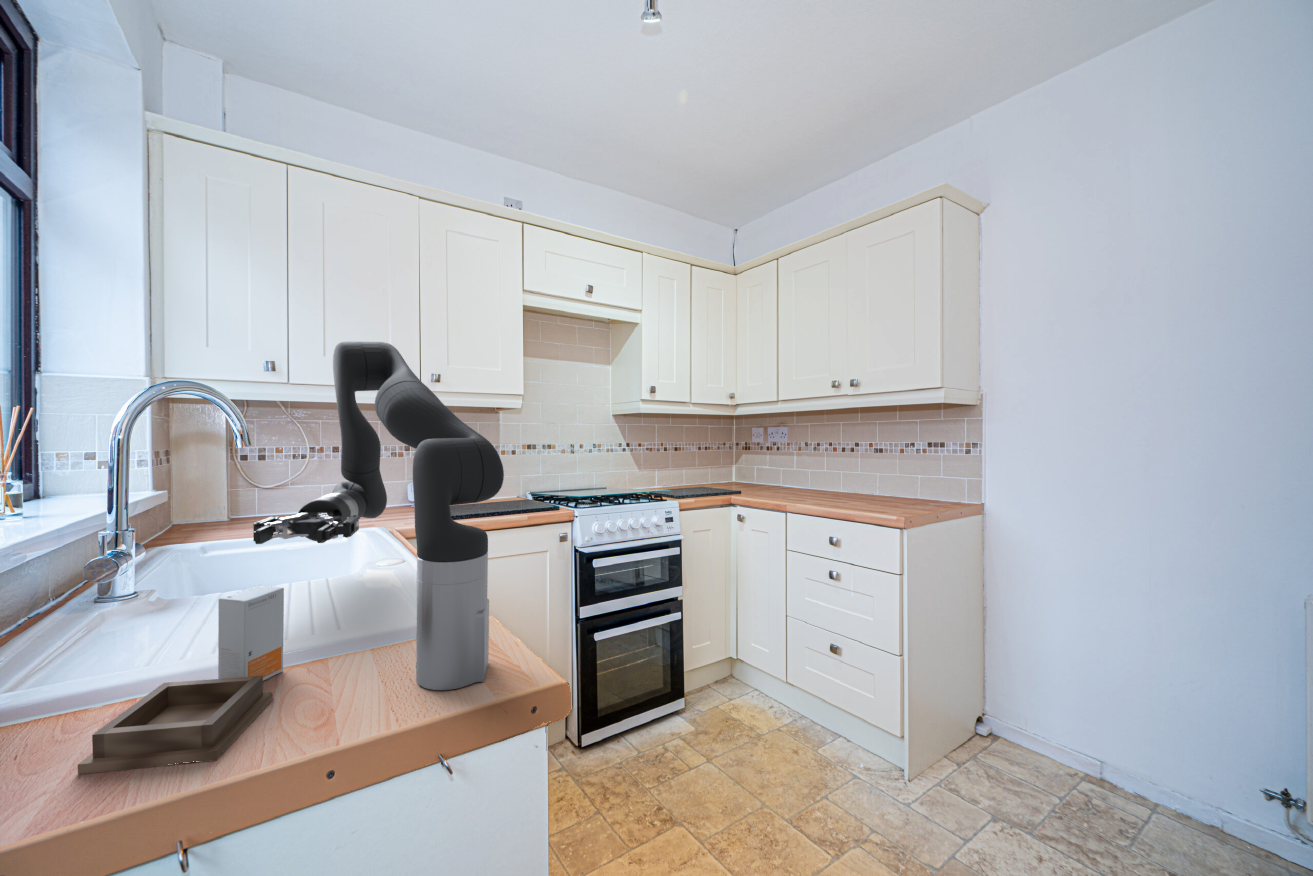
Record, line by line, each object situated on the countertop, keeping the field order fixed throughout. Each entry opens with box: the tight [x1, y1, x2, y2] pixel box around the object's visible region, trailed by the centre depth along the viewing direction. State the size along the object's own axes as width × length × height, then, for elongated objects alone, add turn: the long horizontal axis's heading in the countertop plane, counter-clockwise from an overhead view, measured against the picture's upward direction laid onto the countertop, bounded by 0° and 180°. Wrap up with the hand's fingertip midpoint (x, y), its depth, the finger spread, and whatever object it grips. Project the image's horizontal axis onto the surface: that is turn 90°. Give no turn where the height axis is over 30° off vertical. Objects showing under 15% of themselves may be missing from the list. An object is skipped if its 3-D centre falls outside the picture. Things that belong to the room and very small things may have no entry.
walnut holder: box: [77, 676, 274, 775], centre depth 60 cm, size 12×12×4 cm
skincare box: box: [217, 584, 285, 682], centre depth 72 cm, size 6×4×12 cm
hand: (289, 537), depth 82 cm, fingers open, 8 cm apart
